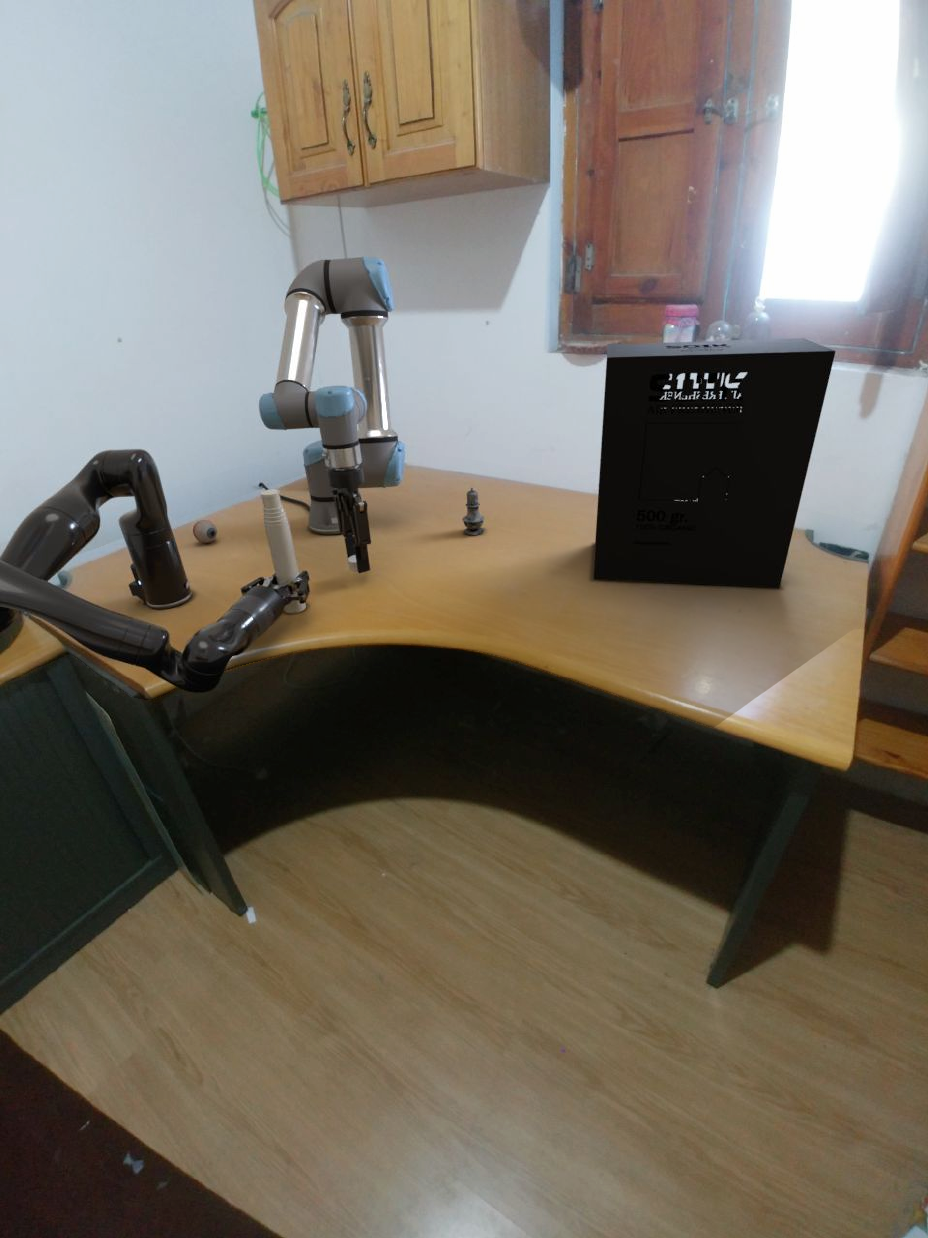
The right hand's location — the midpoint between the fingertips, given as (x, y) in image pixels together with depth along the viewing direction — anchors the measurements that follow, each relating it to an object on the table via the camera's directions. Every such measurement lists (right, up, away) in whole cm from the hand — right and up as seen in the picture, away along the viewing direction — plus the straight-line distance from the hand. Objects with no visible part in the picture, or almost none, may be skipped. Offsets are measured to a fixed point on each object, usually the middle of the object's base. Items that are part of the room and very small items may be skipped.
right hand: (359, 567), depth 137 cm
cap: (0, +2, -1) cm, 2 cm away
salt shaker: (+27, +11, +23) cm, 37 cm away
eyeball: (-45, +9, +26) cm, 53 cm away
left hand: (-12, -2, -10) cm, 16 cm away
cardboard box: (+73, +1, -1) cm, 73 cm away
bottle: (-12, -9, -9) cm, 18 cm away
